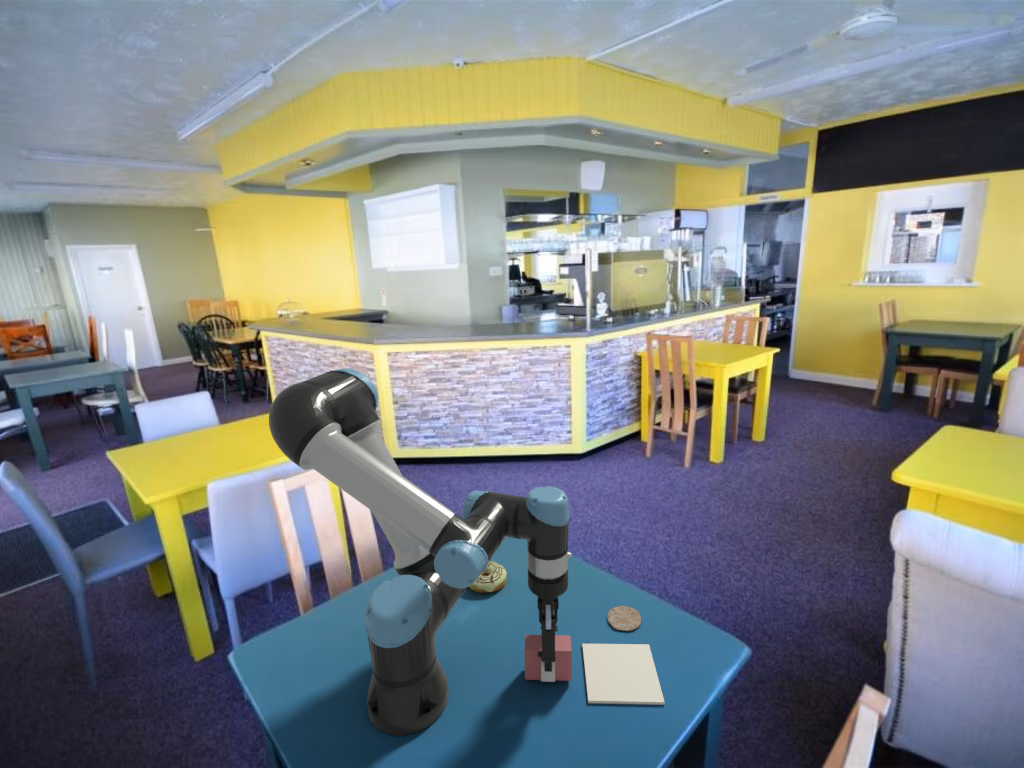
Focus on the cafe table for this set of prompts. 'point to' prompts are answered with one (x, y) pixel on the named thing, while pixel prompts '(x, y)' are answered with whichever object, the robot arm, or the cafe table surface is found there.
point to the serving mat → (621, 674)
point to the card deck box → (561, 653)
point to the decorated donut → (490, 579)
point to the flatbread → (624, 618)
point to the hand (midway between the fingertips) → (547, 670)
